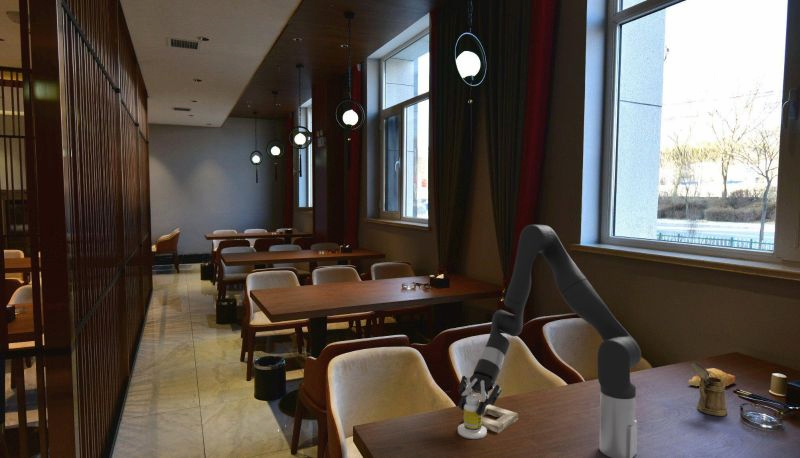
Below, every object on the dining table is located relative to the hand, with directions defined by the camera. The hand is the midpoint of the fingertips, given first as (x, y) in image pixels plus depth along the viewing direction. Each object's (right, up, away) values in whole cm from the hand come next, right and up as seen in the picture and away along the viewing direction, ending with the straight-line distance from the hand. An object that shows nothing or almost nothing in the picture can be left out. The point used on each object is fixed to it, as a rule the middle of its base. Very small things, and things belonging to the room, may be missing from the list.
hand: (469, 411), depth 149 cm
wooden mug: (+85, -7, +18) cm, 87 cm away
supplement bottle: (+1, -6, +2) cm, 7 cm away
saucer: (+1, -7, +2) cm, 7 cm away
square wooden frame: (+9, -7, +10) cm, 15 cm away
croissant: (+103, -6, +44) cm, 113 cm away
